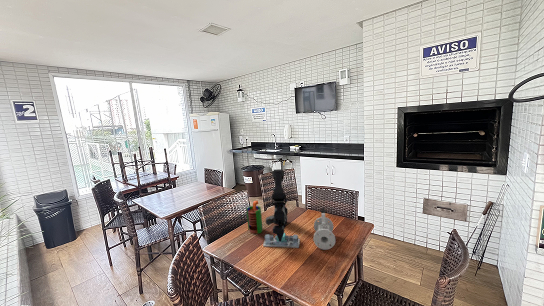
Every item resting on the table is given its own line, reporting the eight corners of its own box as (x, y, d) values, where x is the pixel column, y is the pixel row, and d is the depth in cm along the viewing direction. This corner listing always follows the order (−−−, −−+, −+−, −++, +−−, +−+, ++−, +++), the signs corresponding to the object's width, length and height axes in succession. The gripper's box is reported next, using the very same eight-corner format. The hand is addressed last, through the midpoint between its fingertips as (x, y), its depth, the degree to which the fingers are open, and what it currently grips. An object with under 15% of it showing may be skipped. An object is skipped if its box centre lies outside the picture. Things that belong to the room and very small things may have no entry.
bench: (266, 239, 138) (265, 232, 137) (299, 240, 133) (299, 233, 133) (263, 246, 130) (262, 238, 129) (298, 247, 126) (298, 240, 125)
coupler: (276, 239, 134) (275, 232, 134) (288, 239, 133) (287, 232, 132) (274, 243, 130) (274, 236, 129) (287, 244, 129) (286, 236, 128)
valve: (335, 250, 121) (335, 224, 119) (313, 249, 124) (312, 224, 121) (333, 230, 142) (332, 208, 140) (314, 229, 145) (313, 208, 143)
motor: (245, 232, 148) (243, 203, 145) (252, 226, 156) (250, 199, 153) (258, 234, 143) (256, 205, 140) (265, 228, 151) (263, 200, 148)
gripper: (269, 205, 139) (271, 228, 142) (262, 218, 121) (264, 245, 124) (286, 206, 137) (288, 229, 139) (282, 219, 119) (284, 246, 121)
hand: (281, 237), depth 131 cm, fingers open, 9 cm apart
